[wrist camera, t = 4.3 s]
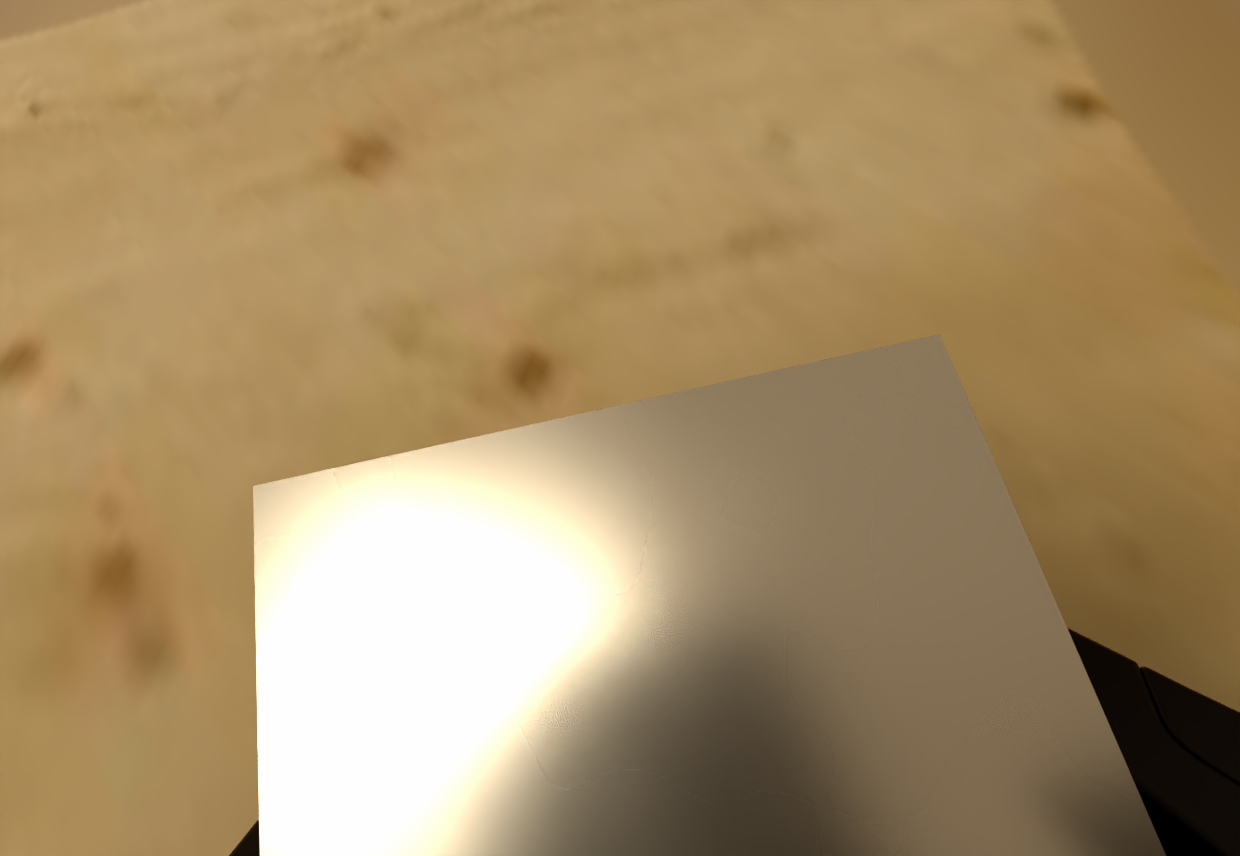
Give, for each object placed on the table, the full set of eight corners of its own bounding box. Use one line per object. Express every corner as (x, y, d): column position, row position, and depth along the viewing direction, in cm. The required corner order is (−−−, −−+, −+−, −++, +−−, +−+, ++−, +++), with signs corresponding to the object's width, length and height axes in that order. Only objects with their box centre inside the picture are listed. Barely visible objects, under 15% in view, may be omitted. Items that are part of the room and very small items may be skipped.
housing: (797, 749, 13) (1360, 1304, 3) (571, 802, 13) (272, 1587, 3) (734, 521, 15) (940, 334, 4) (532, 567, 15) (252, 486, 4)
